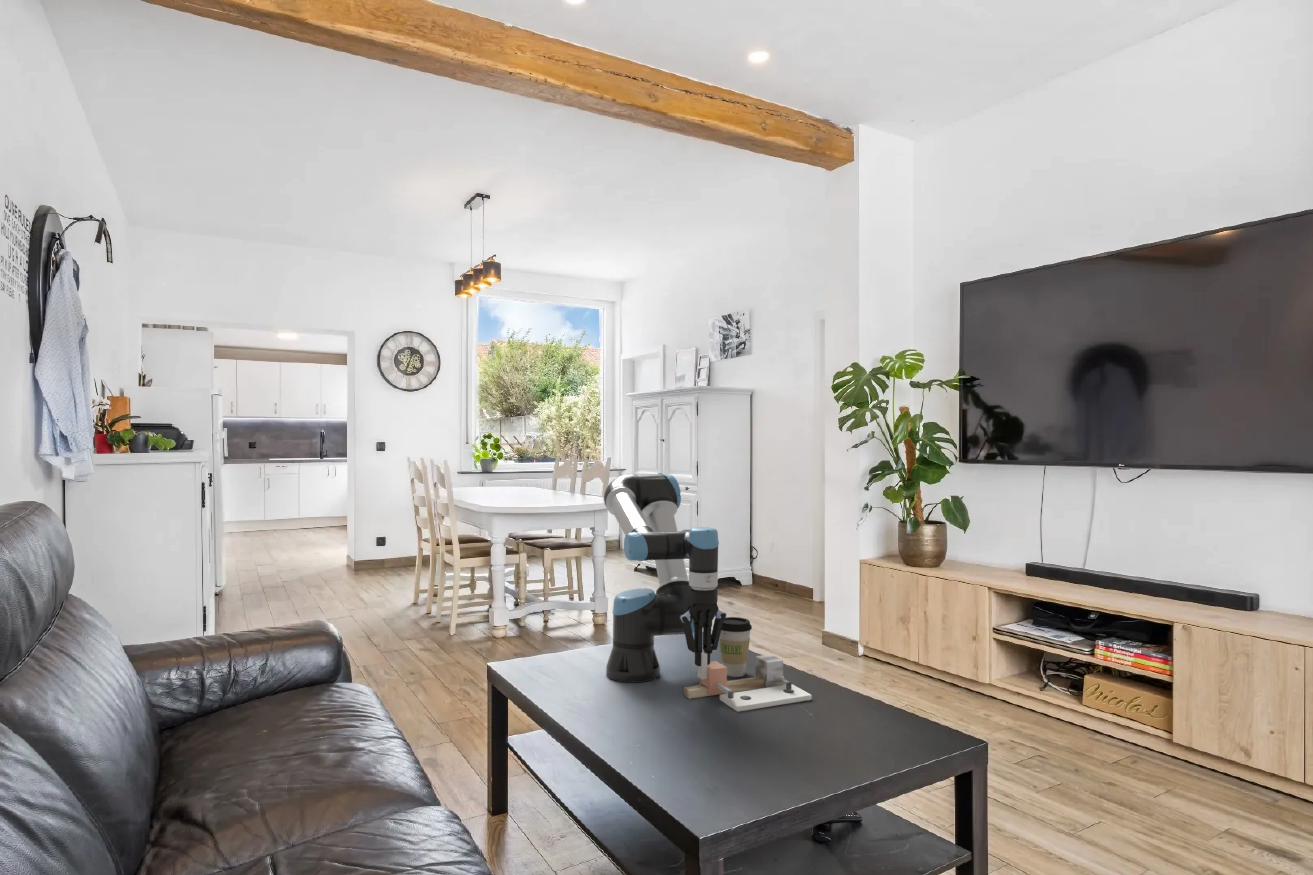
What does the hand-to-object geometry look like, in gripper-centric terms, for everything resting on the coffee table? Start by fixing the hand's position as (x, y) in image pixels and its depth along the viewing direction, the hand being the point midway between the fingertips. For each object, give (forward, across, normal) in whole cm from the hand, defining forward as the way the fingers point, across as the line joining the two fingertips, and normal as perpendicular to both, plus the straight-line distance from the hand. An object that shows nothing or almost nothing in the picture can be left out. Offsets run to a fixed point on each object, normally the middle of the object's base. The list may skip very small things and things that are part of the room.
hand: (702, 677), depth 195 cm
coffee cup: (+5, +16, +13) cm, 21 cm away
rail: (+5, +10, -3) cm, 12 cm away
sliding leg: (+4, +3, -3) cm, 6 cm away
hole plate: (+5, +14, -9) cm, 17 cm away
